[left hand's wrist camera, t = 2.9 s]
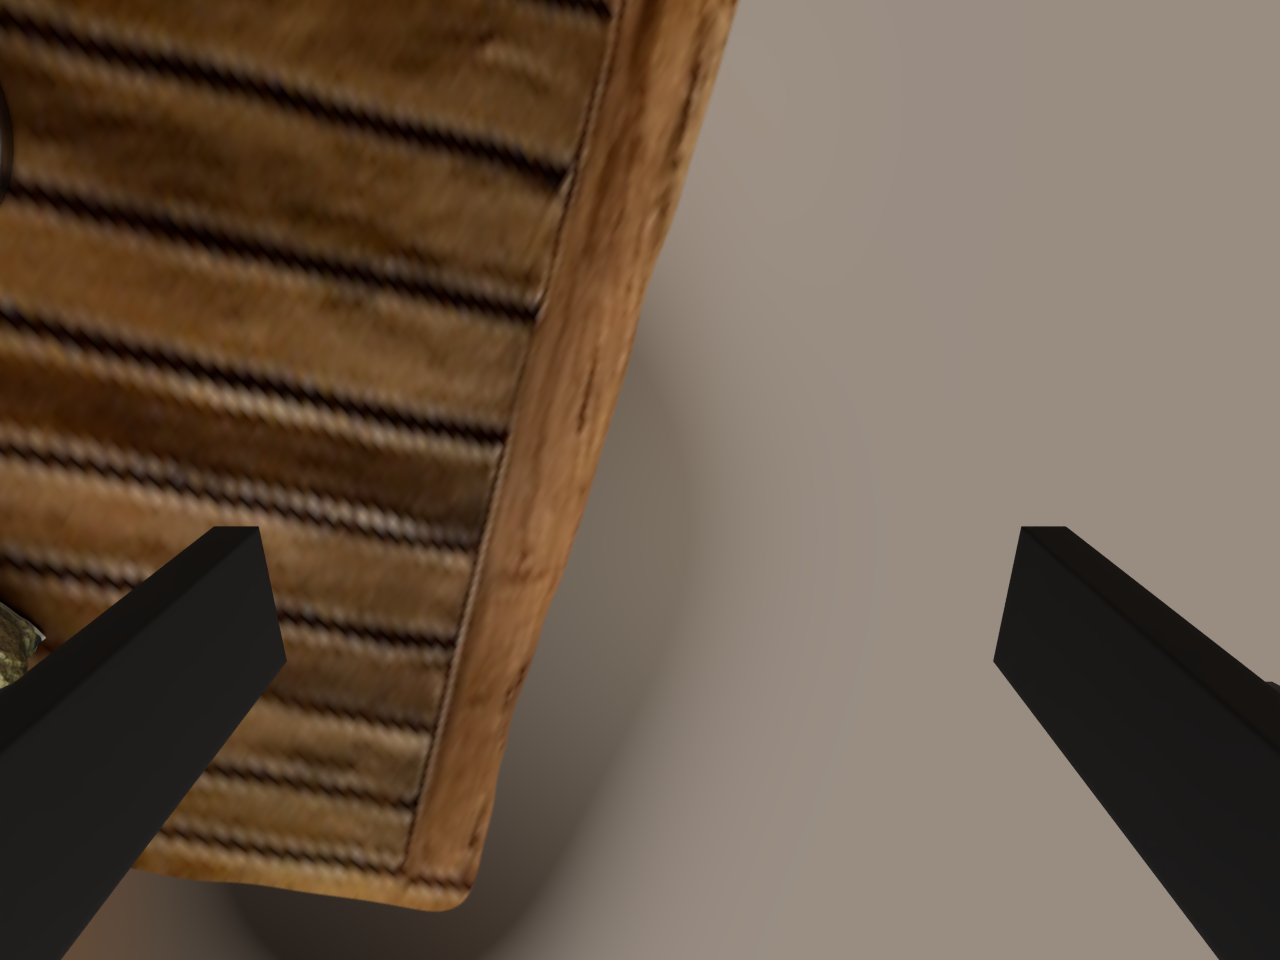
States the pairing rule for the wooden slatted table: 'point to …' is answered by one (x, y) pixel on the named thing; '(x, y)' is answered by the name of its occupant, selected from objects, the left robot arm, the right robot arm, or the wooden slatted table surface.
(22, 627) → the fossil
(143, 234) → the wooden slatted table surface
